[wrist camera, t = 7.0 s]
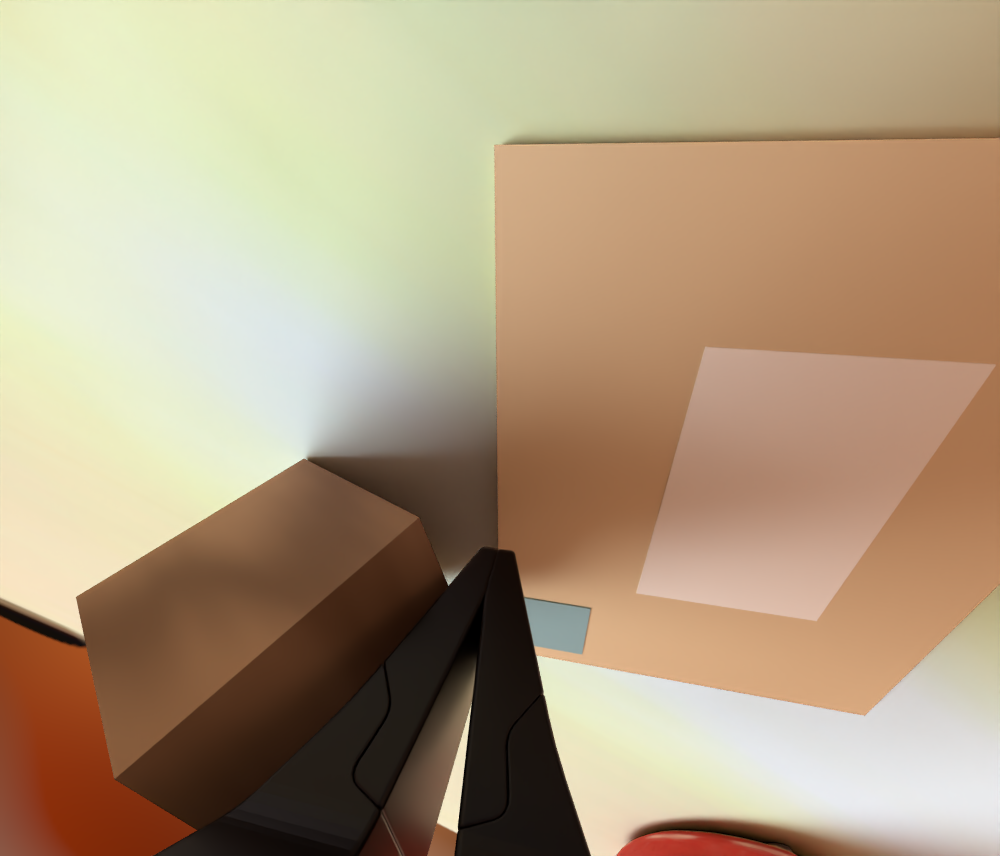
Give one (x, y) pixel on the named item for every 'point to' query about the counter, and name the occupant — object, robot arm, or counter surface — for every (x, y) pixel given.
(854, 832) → the counter surface
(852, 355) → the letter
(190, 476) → the counter surface
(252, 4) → the counter surface
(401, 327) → the counter surface
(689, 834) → the plant pot
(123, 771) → the walnut block
